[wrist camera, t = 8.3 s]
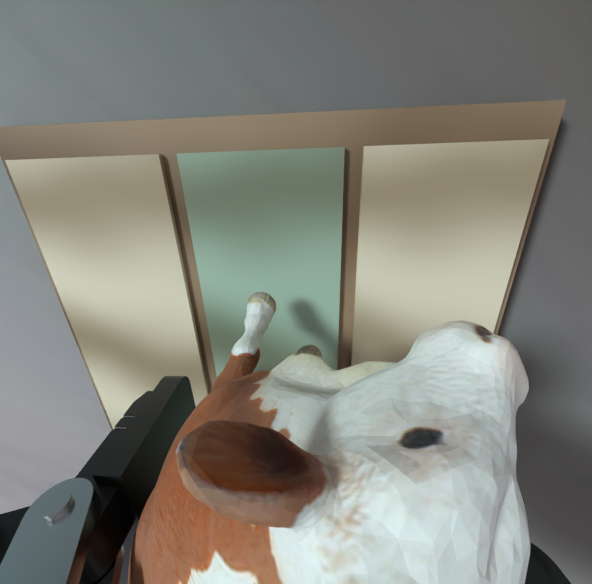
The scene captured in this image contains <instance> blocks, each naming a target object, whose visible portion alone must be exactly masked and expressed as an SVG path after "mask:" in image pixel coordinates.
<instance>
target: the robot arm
mask: <svg viewBox="0 0 592 584" xmlns="http://www.w3.org/2000/svg"><path fill="white" fill-rule="evenodd" d="M195 408H196V405H195V401H194V397H193V393H192V388H191V384H190V380H189V378H188V377H187V376H164V377H163V378H162V379H161V380H160V382H159V383H158V385H157V386H156V387H155V389H154V390H153V391H147V392H146V393H144V394H143V395H142V396H141V397H139V398H138V399H137V400H135V401H134V402H133V403H132V405H131V406H130V407H129V408H128V410H127V411H126V412H125V414H124V415H123V418H121V419H120V420H119V422H118V423H117V424H116V425H115V428H114V429H112V431H111V432H110V433H109V435H108V436H107V437H106V439H105V440H104V441H103V442H102V444H101V445H100V446H99V448H98V449H97V450H96V452H95V453H94V454H93V455H92V457H91V458H90V459H89V461H88V462H87V463H86V465H85V466H84V467H83V469H82V470H81V471H80V472H79V474H78V475H77V476H76V477H75V478H73V479H69V480H66V481H63V482H61V483H59V484H57V485H55V486H53V487H52V488H50V489H49V490H47V491H46V492H45V493H44V494H42V495H41V496H40V497H39V498H38V499H37V500H36V501H35V502H34V503H33V504H32V505H31V506H29V507H25V508H22V509H18V510H15V511H11V512H7V513H4V514H0V584H119V581H120V576H121V570H122V564H123V558H124V548H123V543H124V541H125V539H126V537H127V535H128V533H129V531H134V532H136V529H137V526H138V522H139V520H140V517H141V514H142V512H143V509H144V507H145V505H146V502H147V500H148V498H149V497H150V495H151V493H152V491H153V489H154V488H155V486H156V483H157V480H158V477H159V475H160V472H161V469H162V466H163V464H164V461H165V459H166V456H167V454H168V452H169V450H170V448H171V445H172V443H173V441H174V439H175V437H176V436H177V434H178V432H179V430H180V429H181V427H182V426H183V424H184V423H185V421H186V420H187V418H188V417H189V416H190V414H191V413H192V412H193V410H194V409H195ZM530 544H531V547H530V557H529V562H528V568H527V573H526V579H525V584H571V583H570V582H569V581H568V579H567V578H566V577H565V575H564V574H563V573H562V571H561V570H560V569H559V568H558V566H557V565H556V564H555V563H554V562H553V561H552V560H551V559H550V558H549V557H548V556H547V555H546V554H545V553H544V552H543V551H542V550H541V549H539V548H538V547H537V546H535V545H534V544H532V543H531V542H530Z"/></svg>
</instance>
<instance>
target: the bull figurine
mask: <svg viewBox="0 0 592 584" xmlns="http://www.w3.org/2000/svg"><path fill="white" fill-rule="evenodd" d="M275 311H276V302H275V300H274V299H273V298H272V296H271V295H269V294H267V293H265V292H256V293H254V294H253V295H251V296H250V298H249V299H248V303H247V316H246V319H245V321H244V324H245V333H244V335H243V336H242V337H241V338H240V339H239V340H238V341H237V342H236V343H235V345H234V347H233V349H232V351H231V355H230V358H229V360H228V362H227V364H226V365H225V367H224V369H223V371H222V372H221V373H220V374H219V376H218V377H217V378H216V380H215V382H214V384H213V386H212V389H211V392H210V394H208V395H207V396H206V397H205V398H204V399H203V400H202V401H201V402H200V403H199V404H198V405H197V406H196V408H195V409H194V410H193V412H192V413H191V414H190V416H189V417H188V418H187V420H186V421H185V423H184V424H183V426H182V427H181V429H180V430H179V432H178V434H177V436H176V437H175V439H174V441H173V443H172V445H171V448H170V450H169V452H168V454H167V456H166V459H165V461H164V464H163V466H162V469H161V472H160V475H159V477H158V480H157V483H156V486H155V488H154V489H153V491H152V493H151V495H150V497H149V498H148V500H147V502H146V505H145V507H144V509H143V512H142V514H141V517H140V520H139V522H138V526H137V529H136V532H135V535H134V538H133V542H132V546H131V551H130V559H129V567H128V584H525V579H526V573H527V568H528V562H529V557H530V547H531V544H530V537H529V529H528V522H527V516H526V510H525V505H524V502H523V498H522V495H521V492H520V488H519V485H518V482H517V478H516V461H517V442H516V412H517V409H518V407H519V406H520V405H521V404H522V403H523V402H524V401H525V398H526V396H527V393H528V391H529V382H528V377H527V374H526V371H525V368H524V365H523V363H522V361H521V358H520V356H519V354H518V352H517V350H516V349H515V347H514V346H513V345H512V343H511V342H510V341H508V340H507V339H506V338H504V337H501V336H499V335H495V334H494V333H492V332H491V331H489V330H488V329H487V328H485V327H483V326H481V325H478V324H476V323H472V322H468V321H463V320H461V321H451V322H446V323H442V324H439V325H436V326H434V327H431V328H430V329H428V330H426V331H425V332H423V333H421V334H420V336H419V337H418V338H417V339H416V340H415V342H414V344H413V346H412V348H411V350H410V352H409V353H408V355H407V356H406V358H404V359H402V360H401V361H399V362H398V363H397V362H386V361H366V362H363V363H360V364H357V365H354V366H351V367H348V368H344V369H341V370H334V369H333V368H332V367H331V366H330V365H329V364H328V363H327V362H326V361H325V360H324V359H323V358H321V357H322V354H321V351H320V349H318V348H317V347H316V346H315V345H305V346H303V347H301V348H300V349H299V350H298V351H297V352H296V355H295V354H292V355H290V356H288V357H287V358H286V359H285V360H284V361H282V362H281V363H280V364H278V365H277V366H276V367H275V368H273V369H272V370H269V371H263V370H262V371H256V372H254V373H252V372H253V371H254V369H255V367H256V366H257V364H258V362H259V358H260V343H261V338H262V336H263V335H264V333H265V331H266V330H267V328H268V326H269V324H270V322H271V320H272V318H273V315H274V314H275Z"/></svg>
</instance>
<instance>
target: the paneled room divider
mask: <svg viewBox="0 0 592 584" xmlns="http://www.w3.org/2000/svg"><path fill="white" fill-rule="evenodd" d="M565 104H566V100H552V101H531V102H510V103H489V104H468V105H448V106H427V107H406V108H385V109H364V110H343V111H322V112H301V113H280V114H259V115H238V116H217V117H197V118H176V119H155V120H134V121H113V122H92V123H71V124H50V125H29V126H8V127H0V156H1V158H2V161H3V163H4V166H5V168H6V170H7V173H8V175H9V178H10V180H11V183H12V185H13V188H14V190H15V193H16V195H17V198H18V200H19V202H20V205H21V207H22V210H23V212H24V215H25V217H26V220H27V222H28V225H29V227H30V230H31V232H32V235H33V237H34V239H35V242H36V244H37V247H38V249H39V252H40V254H41V257H42V259H43V262H44V264H45V267H46V269H47V271H48V274H49V276H50V279H51V281H52V284H53V286H54V289H55V291H56V294H57V296H58V299H59V301H60V303H61V306H62V308H63V311H64V313H65V316H66V318H67V321H68V323H69V326H70V328H71V331H72V333H73V336H74V338H75V340H76V343H77V345H78V348H79V350H80V353H81V355H82V358H83V360H84V363H85V365H86V368H87V370H88V372H89V375H90V377H91V380H92V382H93V385H94V387H95V390H96V392H97V395H98V397H99V400H100V402H101V404H102V407H103V409H104V412H105V414H106V417H107V419H108V422H109V424H110V427H111V429H114V428H115V425H116V424H117V423H118V422H119V420H120V419H121V418H123V415H124V414H125V412H126V411H127V410H128V408H129V407H130V406H131V405H132V403H133V402H134V401H135V400H137V399H138V398H139V397H141V396H142V395H143V394H144V393H146V392H147V391H153V390H154V389H155V387H156V386H157V385H158V383H159V382H160V380H161V379H162V378H163V377H164V376H187V377H188V378H189V380H190V384H191V388H192V393H193V397H194V401H195V405H196V406H197V405H198V404H199V403H200V402H201V401H202V400H203V399H204V398H205V397H206V396H207V395H208V394H210V392H211V389H212V386H213V384H214V382H215V380H216V378H217V377H218V376H219V374H220V373H221V372H222V371H223V369H224V367H225V365H226V364H227V362H228V360H229V358H230V355H231V351H232V349H233V347H234V345H235V343H236V342H237V341H238V340H239V339H240V338H241V337H242V336H243V335H244V333H245V324H244V321H245V319H246V316H247V303H248V299H249V298H250V296H251V295H253V294H254V293H256V292H265V293H267V294H269V295H271V296H272V298H273V299H274V300H275V302H276V311H275V314H274V315H273V318H272V320H271V322H270V324H269V326H268V328H267V330H266V331H265V333H264V335H263V336H262V338H261V343H260V358H259V362H258V364H257V366H256V367H255V369H254V371H253V372H252V373H254V372H256V371H262V370H263V371H269V370H272V369H273V368H275V367H276V366H277V365H278V364H280V363H281V362H282V361H284V360H285V359H286V358H287V357H288V356H290V355H292V354H295V355H296V352H297V351H298V350H299V349H300V348H301V347H303V346H305V345H315V346H316V347H317V348H318V349H320V351H321V354H322V357H321V358H323V359H324V360H325V361H326V362H327V363H328V364H329V365H330V366H331V367H332V368H333V369H334V370H341V369H344V368H348V367H351V366H354V365H357V364H360V363H363V362H366V361H386V362H397V363H398V362H399V361H401V360H402V359H404V358H406V356H407V355H408V353H409V352H410V350H411V348H412V346H413V344H414V342H415V340H416V339H417V338H418V337H419V336H420V334H421V333H423V332H425V331H426V330H428V329H430V328H431V327H434V326H436V325H439V324H442V323H446V322H451V321H461V320H463V321H468V322H472V323H476V324H478V325H481V326H483V327H485V328H487V329H488V330H489V331H491V332H492V333H494V334H495V335H497V334H498V330H499V327H500V323H501V320H502V317H503V313H504V310H505V307H506V303H507V300H508V296H509V293H510V290H511V286H512V283H513V280H514V276H515V273H516V269H517V266H518V263H519V259H520V256H521V252H522V249H523V246H524V242H525V239H526V236H527V232H528V229H529V225H530V222H531V219H532V215H533V212H534V209H535V205H536V202H537V198H538V195H539V192H540V188H541V185H542V182H543V178H544V175H545V171H546V168H547V165H548V161H549V158H550V154H551V151H552V148H553V144H554V141H555V138H556V134H557V131H558V127H559V124H560V121H561V117H562V114H563V111H564V107H565Z"/></svg>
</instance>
